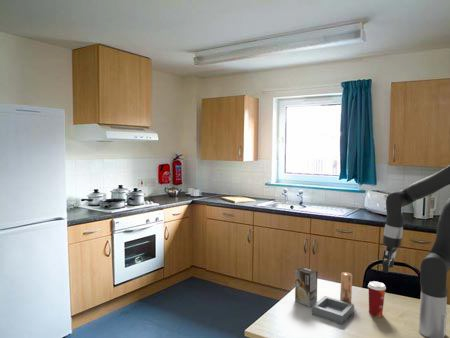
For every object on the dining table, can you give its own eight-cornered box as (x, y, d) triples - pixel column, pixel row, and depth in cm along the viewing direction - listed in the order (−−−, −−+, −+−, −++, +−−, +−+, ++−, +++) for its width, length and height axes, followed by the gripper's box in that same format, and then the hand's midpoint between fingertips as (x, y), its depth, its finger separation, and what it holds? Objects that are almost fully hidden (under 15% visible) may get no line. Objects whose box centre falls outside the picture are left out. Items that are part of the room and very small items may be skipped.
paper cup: (386, 318, 159) (388, 288, 158) (368, 316, 160) (369, 286, 159) (382, 310, 167) (383, 281, 165) (365, 308, 168) (366, 280, 167)
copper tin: (352, 301, 176) (353, 274, 175) (349, 305, 172) (350, 277, 170) (342, 298, 179) (343, 271, 178) (338, 302, 175) (339, 274, 174)
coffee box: (317, 303, 173) (318, 271, 172) (309, 307, 169) (310, 274, 168) (302, 297, 180) (302, 266, 179) (294, 300, 176) (295, 269, 175)
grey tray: (353, 312, 164) (353, 304, 164) (342, 324, 153) (342, 315, 153) (324, 304, 173) (324, 296, 172) (311, 314, 162) (312, 306, 161)
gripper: (397, 240, 151) (392, 276, 153) (405, 234, 162) (400, 268, 164) (379, 236, 156) (374, 271, 158) (388, 230, 167) (383, 263, 169)
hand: (387, 269), depth 161 cm, fingers open, 8 cm apart
